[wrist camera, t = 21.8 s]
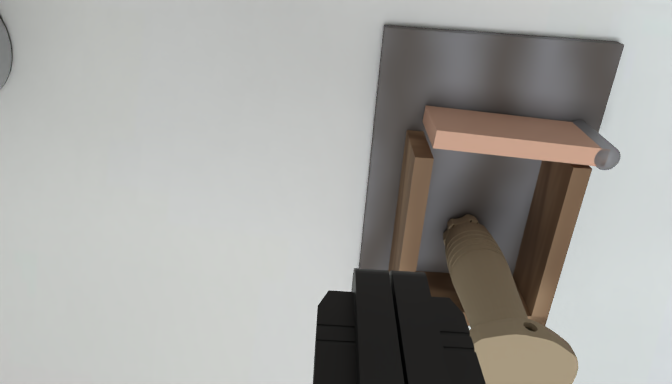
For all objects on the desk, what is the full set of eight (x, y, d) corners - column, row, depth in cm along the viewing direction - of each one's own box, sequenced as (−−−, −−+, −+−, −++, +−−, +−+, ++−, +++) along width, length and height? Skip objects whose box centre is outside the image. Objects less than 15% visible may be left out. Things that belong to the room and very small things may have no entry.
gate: (421, 124, 39) (432, 151, 35) (426, 102, 39) (437, 127, 34) (584, 142, 40) (615, 171, 35) (591, 121, 39) (623, 148, 35)
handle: (490, 263, 45) (555, 412, 31) (414, 247, 44) (447, 392, 31) (513, 212, 43) (592, 348, 29) (433, 194, 42) (476, 325, 29)
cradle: (356, 290, 47) (358, 338, 42) (384, 25, 38) (391, 43, 32) (542, 301, 48) (568, 350, 42) (617, 41, 38) (663, 62, 33)
